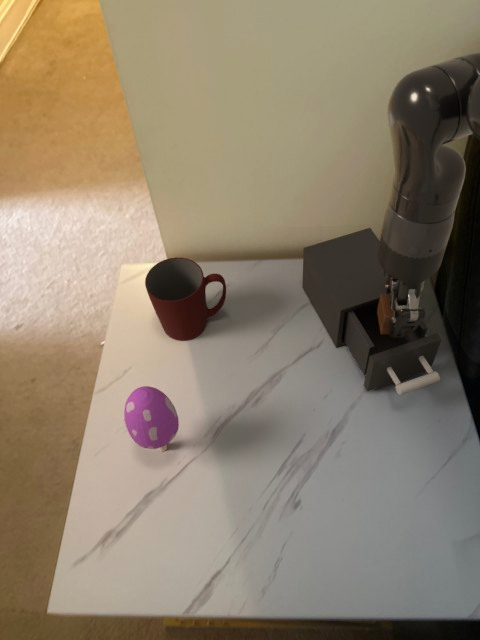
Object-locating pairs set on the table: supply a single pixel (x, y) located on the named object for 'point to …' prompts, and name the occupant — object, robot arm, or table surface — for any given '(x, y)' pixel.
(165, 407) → the toy
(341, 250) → the cabinet
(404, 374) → the drawer
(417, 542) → the table surface
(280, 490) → the table surface
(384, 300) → the block
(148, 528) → the table surface
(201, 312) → the mug
